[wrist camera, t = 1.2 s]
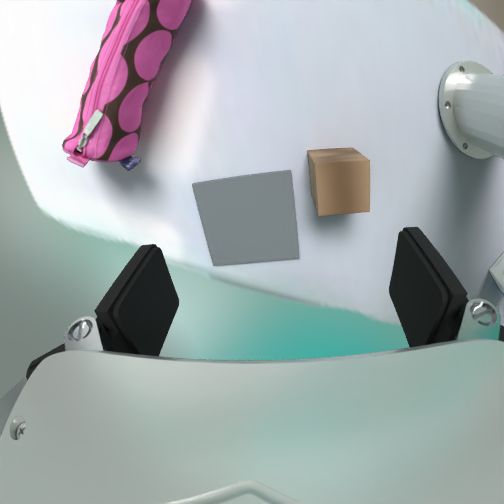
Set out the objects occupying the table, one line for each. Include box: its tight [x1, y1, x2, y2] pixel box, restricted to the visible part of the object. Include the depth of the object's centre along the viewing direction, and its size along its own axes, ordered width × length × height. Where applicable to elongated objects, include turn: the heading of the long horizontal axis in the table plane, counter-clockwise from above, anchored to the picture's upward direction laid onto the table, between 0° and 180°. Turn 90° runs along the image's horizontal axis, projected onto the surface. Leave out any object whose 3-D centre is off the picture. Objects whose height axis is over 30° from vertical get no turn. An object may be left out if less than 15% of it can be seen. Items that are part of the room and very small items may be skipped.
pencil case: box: [62, 0, 192, 171], centre depth 19 cm, size 21×10×10 cm, turn 159°
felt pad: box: [192, 170, 300, 266], centre depth 32 cm, size 11×11×1 cm
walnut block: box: [307, 148, 370, 216], centre depth 26 cm, size 5×5×6 cm
